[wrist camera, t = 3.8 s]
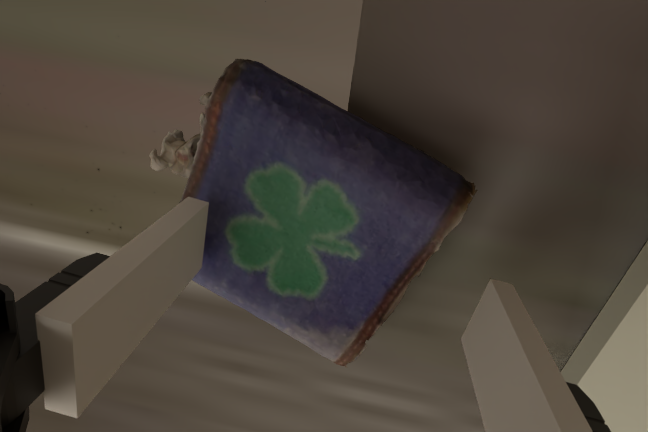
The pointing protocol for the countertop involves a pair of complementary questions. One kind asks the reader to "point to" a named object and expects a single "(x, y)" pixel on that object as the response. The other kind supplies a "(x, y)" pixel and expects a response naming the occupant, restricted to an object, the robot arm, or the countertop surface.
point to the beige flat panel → (618, 354)
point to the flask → (310, 208)
